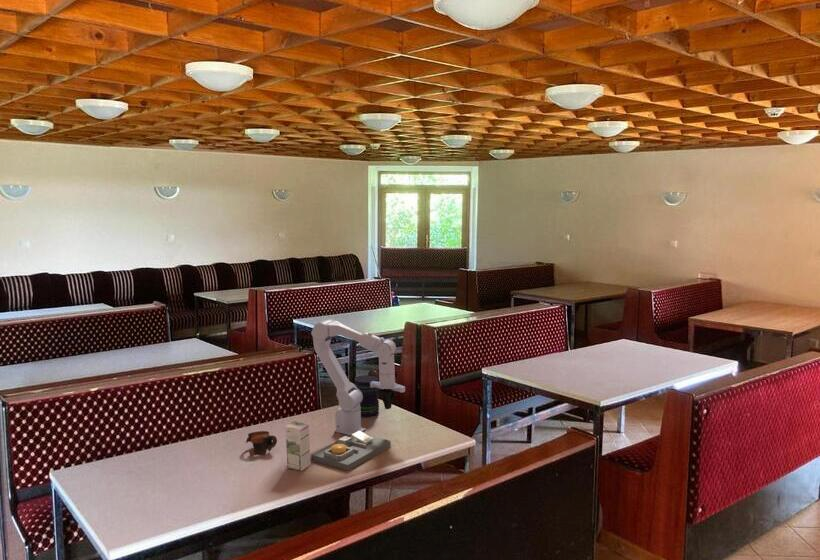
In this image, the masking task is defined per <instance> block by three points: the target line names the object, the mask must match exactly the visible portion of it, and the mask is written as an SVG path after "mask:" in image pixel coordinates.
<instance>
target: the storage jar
mask: <svg viewBox="0 0 820 560" xmlns="http://www.w3.org/2000/svg"><path fill="white" fill-rule="evenodd" d="M372 381H376V382H379V377H378V376H375V375H370V374H369V375H367V374H366V375H365V374H364V375H359V376H355V378H354V385H355V386H356V388H357V389H359V390H360V391H361V392H362V394H363V399H362V401H361V402H360V406H361V418H363V417H369V418H374V417H373V416H375V417H377V416H378V415H379V414H380V412H379V411H380V410H379V409H380V400H379V393H378V391H380V388H375V387H373V388H372V387H370V382H372Z"/></svg>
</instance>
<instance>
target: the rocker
mask: <svg viewBox="0 0 820 560" xmlns="http://www.w3.org/2000/svg"><path fill="white" fill-rule="evenodd" d="M370 436H371V435H369V436H368V434H366V433H364V431H362V432H361V431H358V432H356V433H354V434H352V437H353V438H355V439H357V440H359V441H360V442H362V443H364V444H367V443H369V442H371V441H373V438H372V437H370Z"/></svg>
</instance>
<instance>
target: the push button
mask: <svg viewBox="0 0 820 560" xmlns="http://www.w3.org/2000/svg"><path fill="white" fill-rule="evenodd" d="M345 452H346V445H344V444H335V445H333V446H331V453H334V454H337V455H341V454H343V453H345Z"/></svg>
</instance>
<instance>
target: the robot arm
mask: <svg viewBox="0 0 820 560" xmlns="http://www.w3.org/2000/svg"><path fill="white" fill-rule="evenodd" d="M310 334H311V336H312V341H313V348H314V351H315V352H316V355H317V357H318V358H319V360H320V362H321V364H322V365H323V367H324V368H325V370H326V372H327V374H328V375H329V378H330V379H331V381H332V383H333V384H334V386H335V388H336V398H337V400H338V406H339V407H337V409H336V411H335V413H334V414H335V415H334V416H335V417H334V418H335V419H334V421H335V422H334V423H335V429H334V432H336V433H339V434H343V435H346V436H349V435H350V434H352V433H354V432H358V431H361V432H364V431H366V429H367V428H365V427H362V417H361V406H360V402H361V401H362V399H363V394H362V392H361V391H360V390H359V389H357V388H356V386H355V383H353V382H351V381H350V380H349V378H348V376H347V375H346V373H345V371H344V370H343V368H342V366H341V364H340V362H339V361H338V359H337V357H336V356H335V354H334V352H333V350H332V349H331V347H330V345H331V341H332V339H333V337H336V336H342V337H344V338H347V339H348V340H349V339H350V340H352V341H354V342H358V343H359V345H360V346H359V347H362V348H364V349H366V350H369V351H371V352H372V353H375V354H376V355H377V357H378V372H379V374H378V376H379V377H378V382H376V381H372V382H370V387H372V388H373V387H375V388H378V389H379V390H378V395H379V396H380V398H381V400H382V403H383V406H384V409H385V410H390V409H392V404H393V400H394V397H395V395H396V393H397V392H399V393H405V392H406V386H405V385H402V384H398V383H396V375H395V374H396V373H395V372H396V369H395V354H394V353H395V352H396V349H397V345H396V342H395V341H393V340H392V339H391V338H386V339H385V337H382V336H381V337H380V336H377V335H374V334H373V332H372V331H368V332H367V331H365V332H363V333H362V332H360V331H358V330H356V329H353V328H351V327H349V326H347V325H346V324H343V323H341V322H340V321H338V320H334V319H333V318H327V319H325V320H323V321H321V322H317V323H315V324H314V325H313V327H312V330H311V333H310Z"/></svg>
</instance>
